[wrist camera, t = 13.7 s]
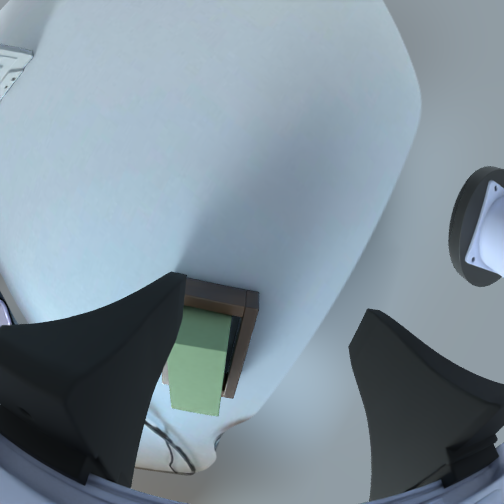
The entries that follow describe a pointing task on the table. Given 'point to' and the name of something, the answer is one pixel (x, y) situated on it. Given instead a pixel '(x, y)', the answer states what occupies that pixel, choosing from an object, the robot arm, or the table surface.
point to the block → (199, 361)
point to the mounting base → (231, 304)
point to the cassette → (11, 65)
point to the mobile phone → (4, 314)
